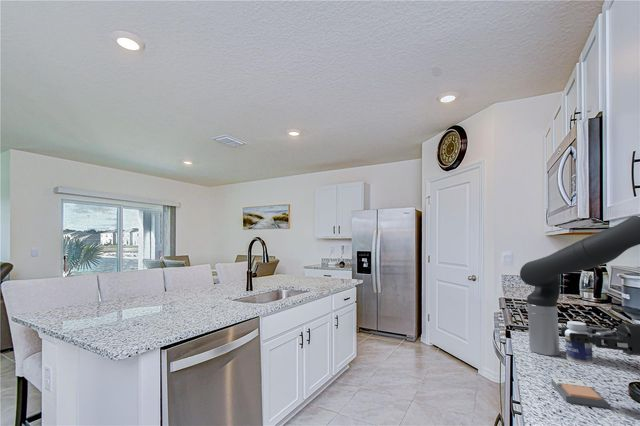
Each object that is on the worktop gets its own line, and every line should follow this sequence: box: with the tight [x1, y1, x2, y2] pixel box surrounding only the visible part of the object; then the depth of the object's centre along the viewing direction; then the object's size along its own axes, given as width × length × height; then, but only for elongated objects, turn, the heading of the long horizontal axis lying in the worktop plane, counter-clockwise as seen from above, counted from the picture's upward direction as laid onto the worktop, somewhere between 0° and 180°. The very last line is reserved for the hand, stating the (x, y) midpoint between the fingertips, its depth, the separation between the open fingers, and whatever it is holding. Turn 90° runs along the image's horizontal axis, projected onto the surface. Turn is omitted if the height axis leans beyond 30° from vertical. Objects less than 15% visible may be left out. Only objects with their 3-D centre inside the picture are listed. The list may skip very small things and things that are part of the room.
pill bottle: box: [564, 320, 594, 365], centre depth 84 cm, size 5×5×10 cm
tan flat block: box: [550, 377, 609, 409], centre depth 85 cm, size 11×8×2 cm
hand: (565, 334), depth 85 cm, fingers closed on pill bottle, 5 cm apart
